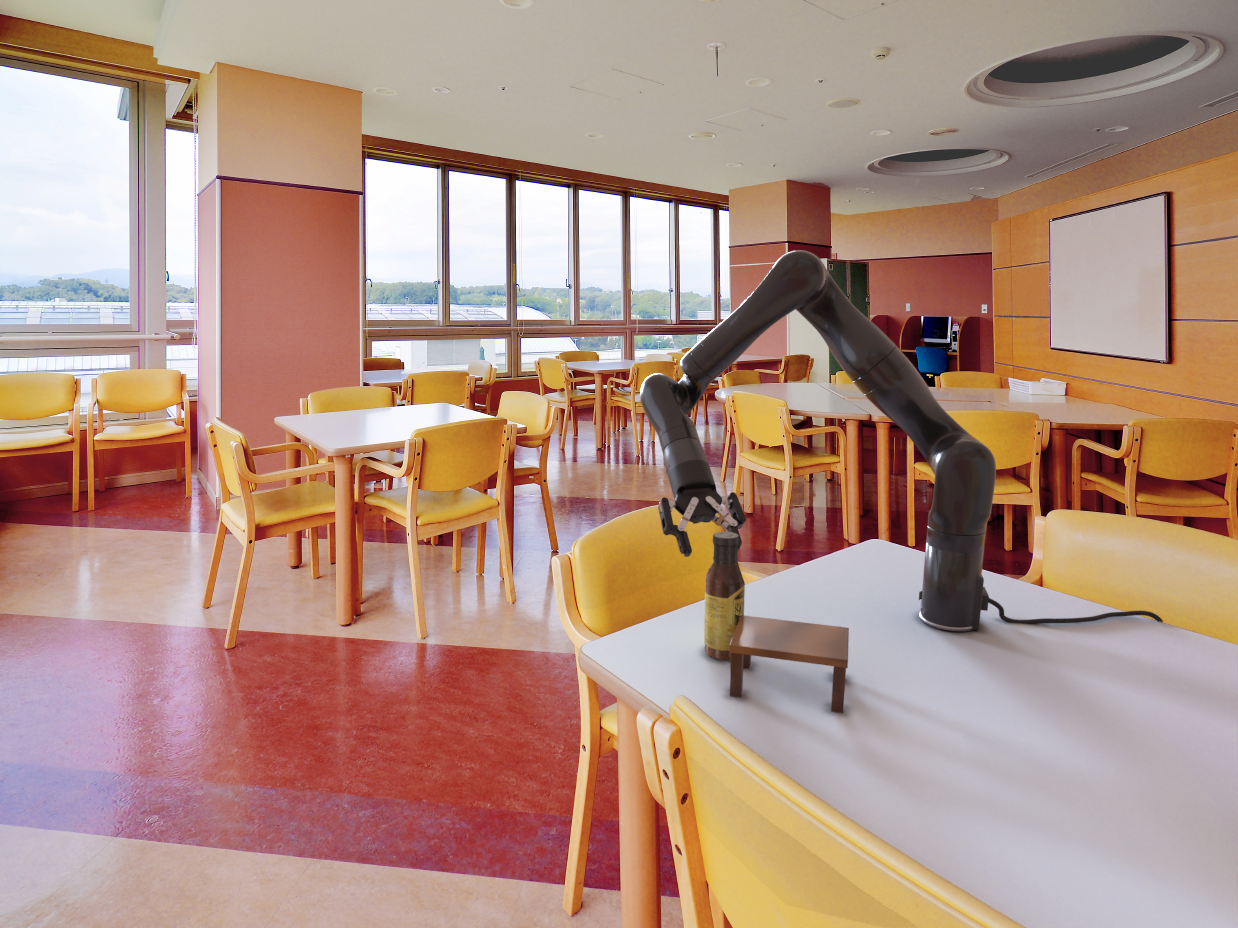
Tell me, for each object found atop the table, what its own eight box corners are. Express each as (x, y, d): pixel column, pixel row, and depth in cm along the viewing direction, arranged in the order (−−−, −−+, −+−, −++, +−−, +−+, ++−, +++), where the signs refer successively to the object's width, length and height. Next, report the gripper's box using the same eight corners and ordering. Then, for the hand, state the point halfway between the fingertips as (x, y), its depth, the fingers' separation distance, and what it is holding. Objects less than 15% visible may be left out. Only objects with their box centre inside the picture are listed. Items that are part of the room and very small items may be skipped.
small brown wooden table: (845, 676, 110) (848, 627, 109) (844, 714, 100) (848, 660, 98) (739, 662, 115) (741, 614, 113) (728, 696, 105) (729, 644, 103)
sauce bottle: (742, 663, 114) (745, 542, 111) (702, 660, 116) (704, 540, 112) (743, 645, 121) (747, 530, 117) (705, 642, 122) (707, 528, 118)
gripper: (654, 460, 123) (678, 545, 115) (732, 455, 127) (760, 537, 119) (645, 484, 129) (666, 566, 121) (719, 479, 133) (745, 558, 125)
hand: (713, 552), depth 120 cm, fingers open, 8 cm apart
